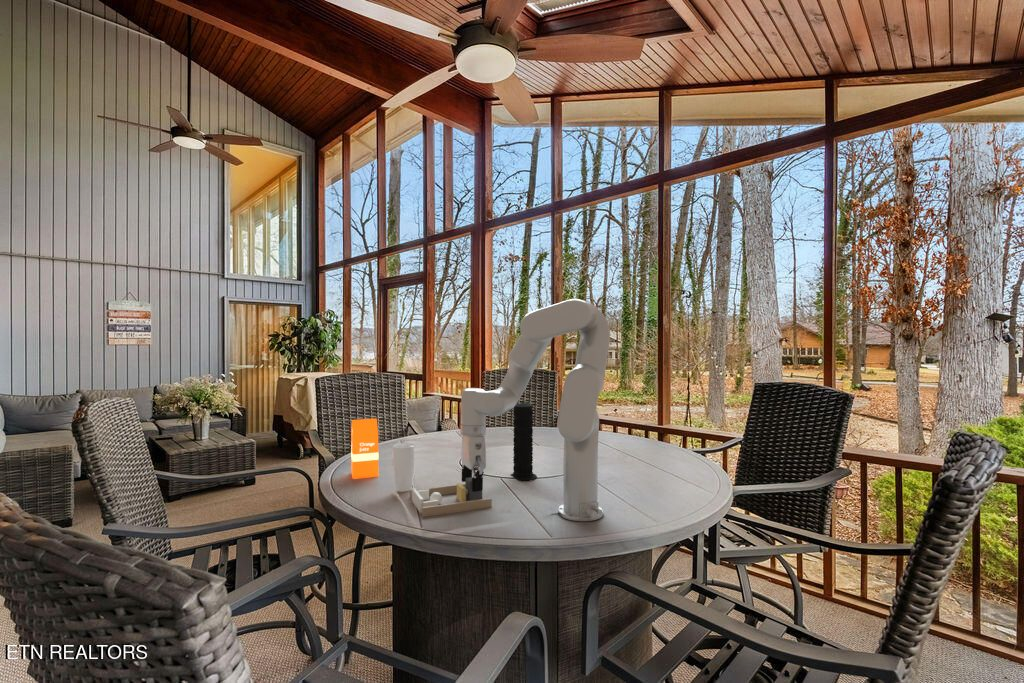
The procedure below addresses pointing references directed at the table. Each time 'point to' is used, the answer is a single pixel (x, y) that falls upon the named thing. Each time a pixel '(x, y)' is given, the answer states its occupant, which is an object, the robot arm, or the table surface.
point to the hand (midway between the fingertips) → (471, 486)
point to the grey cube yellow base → (467, 491)
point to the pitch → (452, 506)
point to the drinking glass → (403, 466)
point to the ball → (436, 497)
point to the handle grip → (523, 442)
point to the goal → (420, 496)
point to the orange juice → (364, 448)
